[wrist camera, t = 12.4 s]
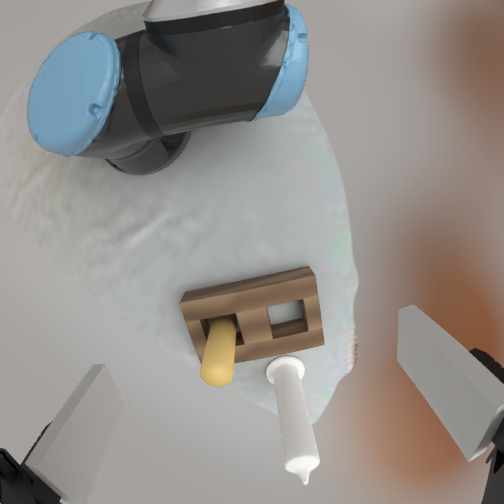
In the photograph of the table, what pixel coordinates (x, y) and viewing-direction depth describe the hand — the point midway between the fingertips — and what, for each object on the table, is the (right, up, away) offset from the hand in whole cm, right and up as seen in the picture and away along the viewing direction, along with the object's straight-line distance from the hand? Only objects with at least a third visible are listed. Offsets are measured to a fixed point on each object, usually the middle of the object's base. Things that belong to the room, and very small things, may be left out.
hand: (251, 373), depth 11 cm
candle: (+6, -17, +38) cm, 42 cm away
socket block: (0, -5, +35) cm, 35 cm away
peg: (-4, -6, +35) cm, 36 cm away
